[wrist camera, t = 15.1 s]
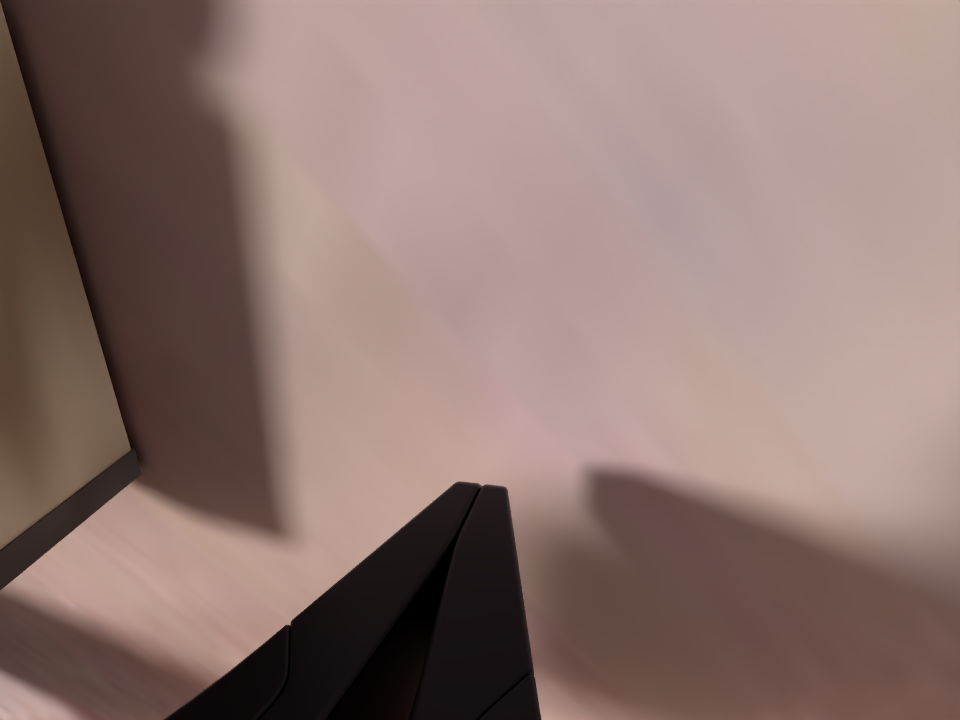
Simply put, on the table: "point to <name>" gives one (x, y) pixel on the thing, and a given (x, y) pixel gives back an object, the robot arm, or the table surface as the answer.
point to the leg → (46, 355)
